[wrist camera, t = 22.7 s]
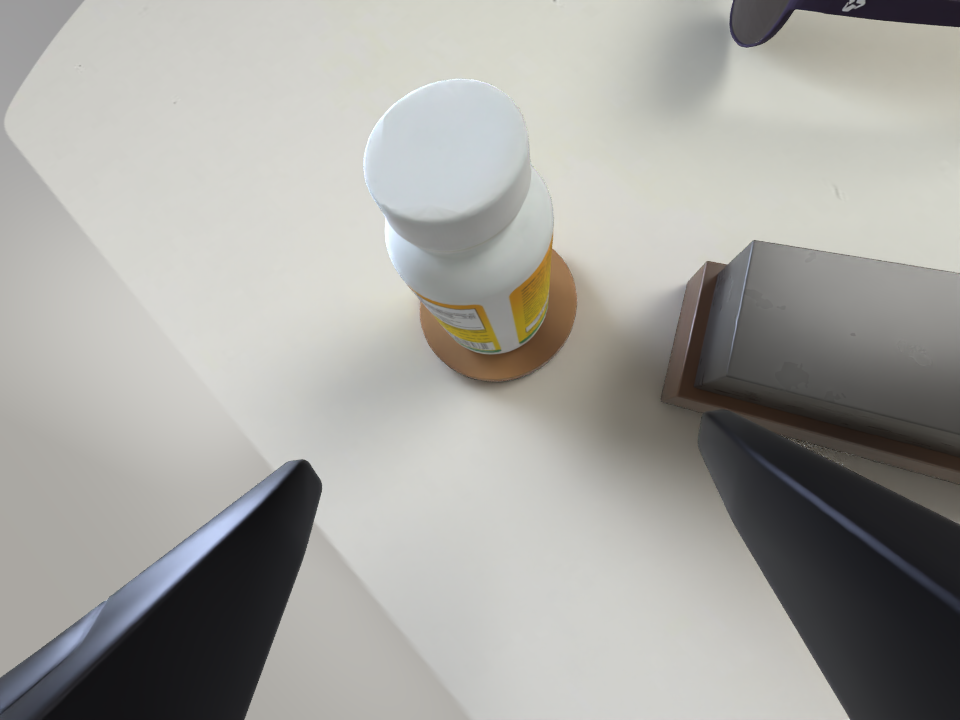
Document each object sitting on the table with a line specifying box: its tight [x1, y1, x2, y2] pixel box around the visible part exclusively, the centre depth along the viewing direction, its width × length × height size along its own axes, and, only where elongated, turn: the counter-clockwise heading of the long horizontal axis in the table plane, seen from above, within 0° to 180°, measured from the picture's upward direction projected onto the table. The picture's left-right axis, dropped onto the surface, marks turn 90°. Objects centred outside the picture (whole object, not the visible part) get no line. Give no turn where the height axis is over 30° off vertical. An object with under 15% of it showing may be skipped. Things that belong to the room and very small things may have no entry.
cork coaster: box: [420, 249, 577, 382], centre depth 17 cm, size 8×8×1 cm
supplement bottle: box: [364, 79, 554, 354], centre depth 12 cm, size 5×5×10 cm
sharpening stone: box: [661, 240, 960, 484], centre depth 12 cm, size 13×6×4 cm, turn 72°
